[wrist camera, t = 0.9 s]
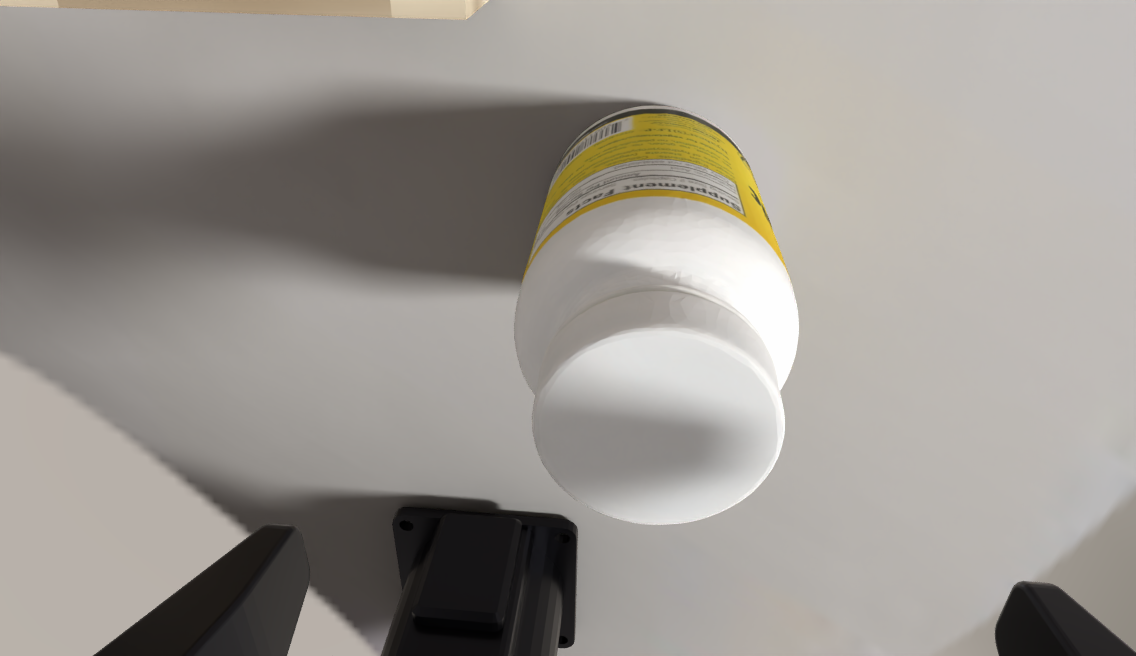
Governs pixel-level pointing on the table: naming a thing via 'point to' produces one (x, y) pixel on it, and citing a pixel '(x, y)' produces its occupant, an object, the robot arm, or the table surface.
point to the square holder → (282, 7)
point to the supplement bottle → (656, 321)
